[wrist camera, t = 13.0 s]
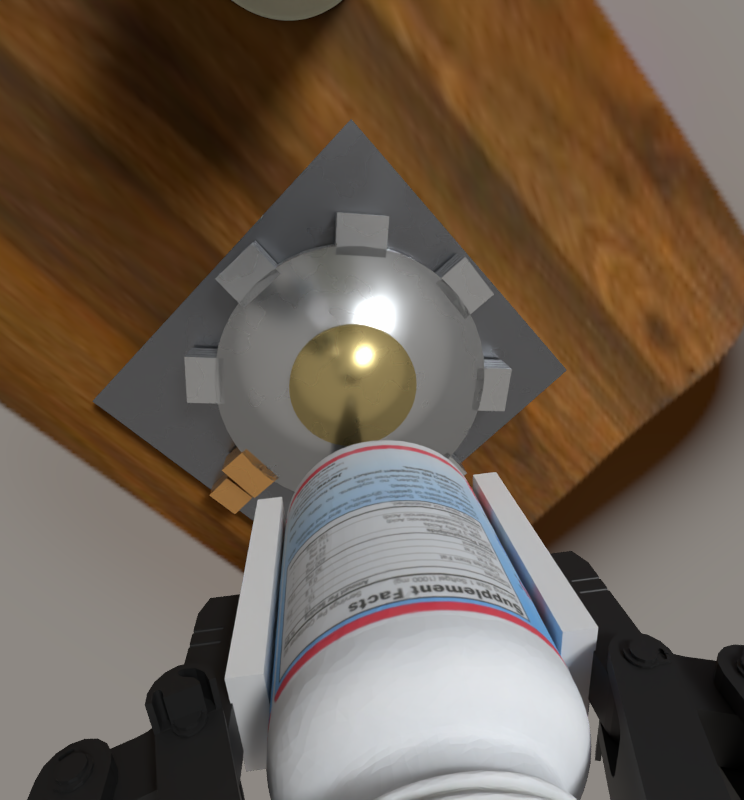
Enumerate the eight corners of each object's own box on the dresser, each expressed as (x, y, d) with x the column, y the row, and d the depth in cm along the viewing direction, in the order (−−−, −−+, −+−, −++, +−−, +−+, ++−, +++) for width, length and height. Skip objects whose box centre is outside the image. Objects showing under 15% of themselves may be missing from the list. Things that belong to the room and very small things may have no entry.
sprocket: (200, 506, 33) (168, 593, 26) (183, 200, 27) (135, 202, 19) (477, 507, 35) (519, 587, 28) (523, 225, 29) (593, 234, 22)
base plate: (99, 395, 31) (84, 409, 29) (349, 121, 27) (352, 115, 25) (329, 568, 37) (330, 589, 35) (559, 365, 33) (575, 376, 31)
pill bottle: (443, 597, 19) (605, 1105, 8) (272, 578, 18) (211, 1131, 7) (495, 447, 17) (796, 868, 6) (305, 414, 16) (285, 858, 5)
